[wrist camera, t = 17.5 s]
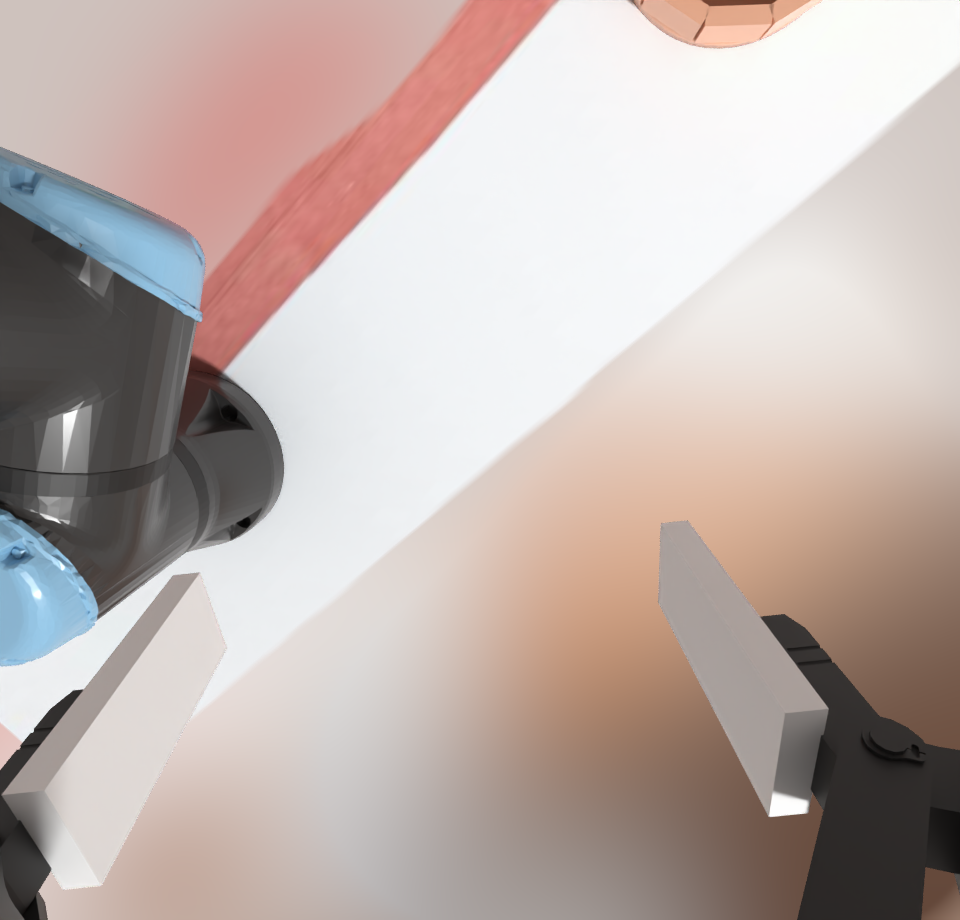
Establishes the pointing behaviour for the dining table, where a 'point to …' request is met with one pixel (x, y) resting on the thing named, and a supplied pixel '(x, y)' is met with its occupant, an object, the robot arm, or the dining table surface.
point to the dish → (722, 19)
